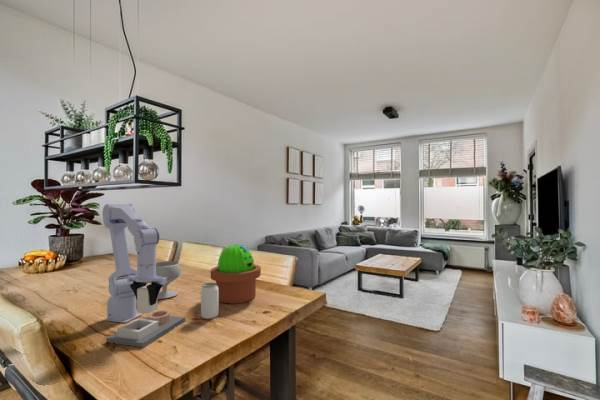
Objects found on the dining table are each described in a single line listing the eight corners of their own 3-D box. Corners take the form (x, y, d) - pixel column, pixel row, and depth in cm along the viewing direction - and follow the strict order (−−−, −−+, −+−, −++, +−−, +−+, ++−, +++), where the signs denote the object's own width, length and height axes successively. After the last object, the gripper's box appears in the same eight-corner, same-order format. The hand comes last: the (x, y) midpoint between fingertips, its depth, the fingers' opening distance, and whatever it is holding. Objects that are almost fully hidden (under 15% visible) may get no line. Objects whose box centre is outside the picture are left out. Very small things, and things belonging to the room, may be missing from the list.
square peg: (137, 312, 98) (137, 288, 98) (147, 307, 103) (146, 285, 103) (148, 313, 97) (148, 289, 97) (157, 308, 101) (157, 286, 102)
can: (212, 311, 117) (212, 281, 117) (221, 315, 113) (221, 284, 113) (197, 316, 112) (197, 285, 112) (207, 320, 108) (207, 288, 108)
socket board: (106, 342, 92) (106, 329, 92) (153, 317, 111) (153, 307, 111) (143, 348, 88) (143, 334, 88) (185, 321, 108) (185, 310, 108)
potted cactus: (200, 301, 130) (200, 245, 130) (233, 287, 149) (233, 239, 149) (239, 309, 119) (239, 248, 119) (269, 294, 139) (269, 241, 139)
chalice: (186, 293, 139) (186, 262, 139) (160, 302, 127) (159, 268, 127) (168, 289, 146) (168, 259, 147) (141, 297, 134) (141, 265, 134)
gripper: (119, 265, 98) (119, 305, 98) (156, 267, 94) (156, 309, 94) (136, 261, 104) (136, 299, 104) (170, 263, 101) (171, 302, 101)
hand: (146, 303), depth 100 cm, fingers closed on square peg, 4 cm apart
